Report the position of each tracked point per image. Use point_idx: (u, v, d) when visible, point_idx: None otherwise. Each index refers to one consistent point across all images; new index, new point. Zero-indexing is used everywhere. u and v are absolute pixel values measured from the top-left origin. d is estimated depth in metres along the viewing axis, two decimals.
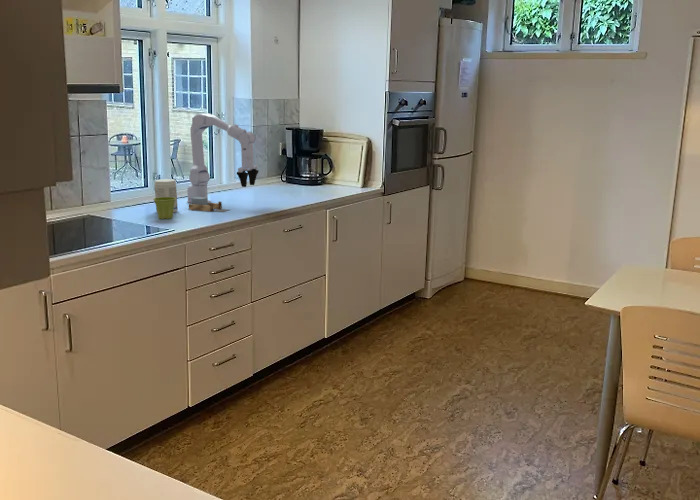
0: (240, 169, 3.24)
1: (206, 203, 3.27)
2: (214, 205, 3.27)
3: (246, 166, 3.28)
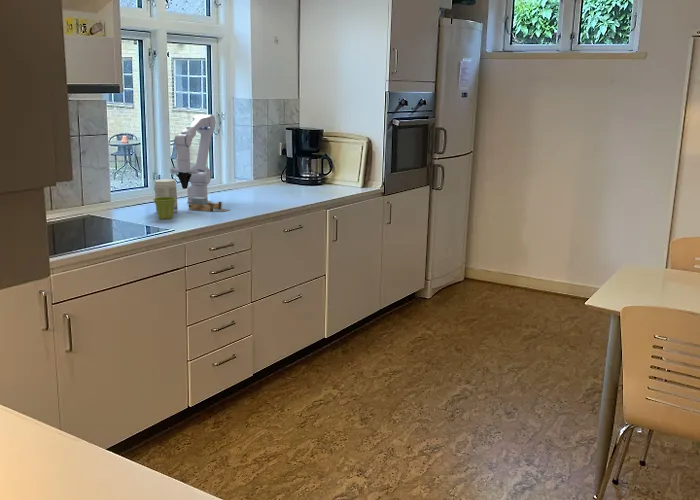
0: None
1: (206, 203, 3.27)
2: (214, 205, 3.27)
3: None
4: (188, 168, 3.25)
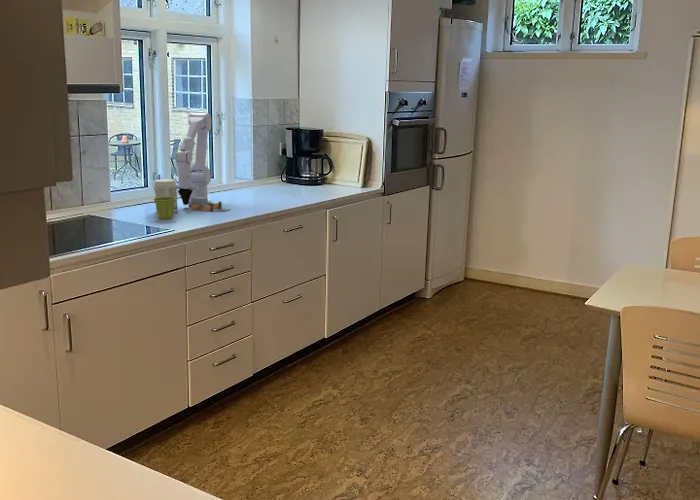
0: None
1: (206, 203, 3.27)
2: (214, 205, 3.27)
3: None
4: (189, 184, 3.26)
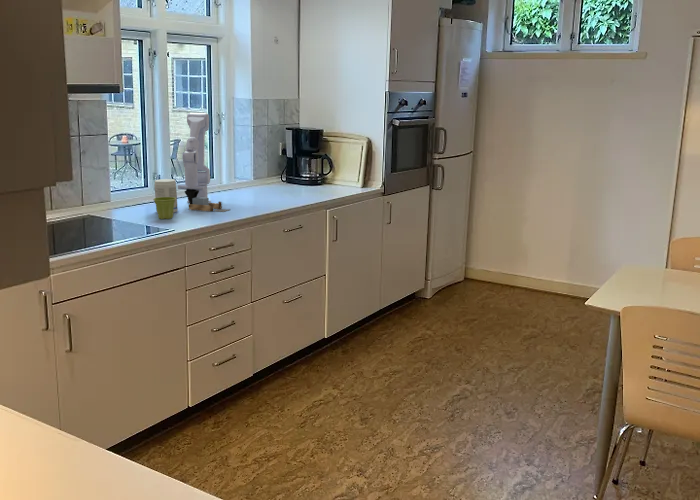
0: None
1: (207, 203, 3.27)
2: (214, 205, 3.27)
3: None
4: (196, 185, 3.25)
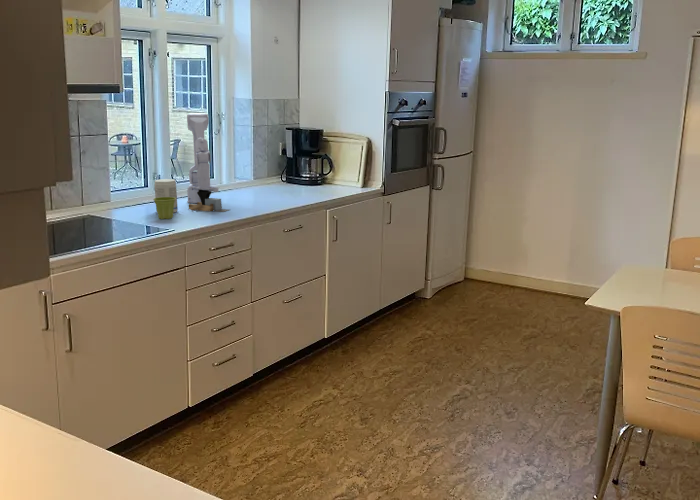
0: None
1: (220, 204, 3.24)
2: None
3: None
4: (208, 186, 3.22)
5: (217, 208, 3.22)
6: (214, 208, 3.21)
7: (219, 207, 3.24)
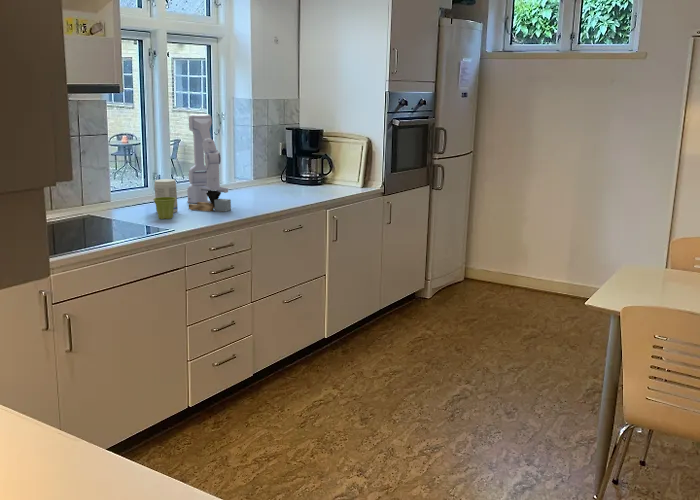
0: None
1: (229, 205, 3.22)
2: None
3: None
4: (218, 186, 3.20)
5: (227, 209, 3.20)
6: (224, 209, 3.20)
7: (228, 208, 3.22)
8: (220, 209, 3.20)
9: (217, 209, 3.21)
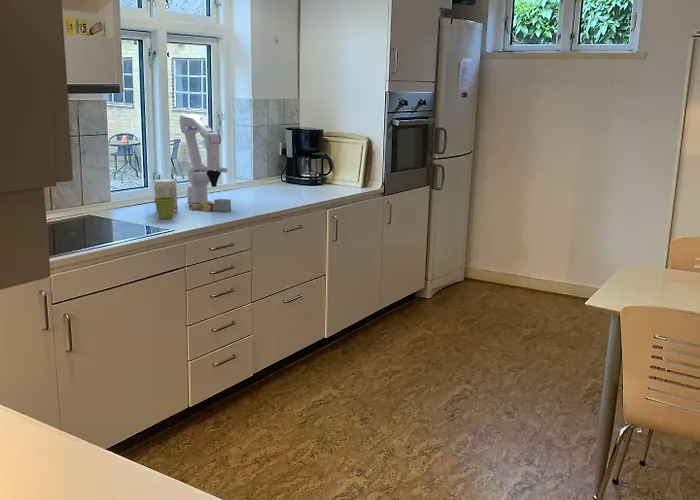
0: None
1: (229, 205, 3.22)
2: (214, 205, 3.27)
3: None
4: (217, 166, 3.27)
5: (227, 209, 3.20)
6: (224, 209, 3.20)
7: (228, 208, 3.22)
8: (220, 209, 3.20)
9: (217, 209, 3.21)
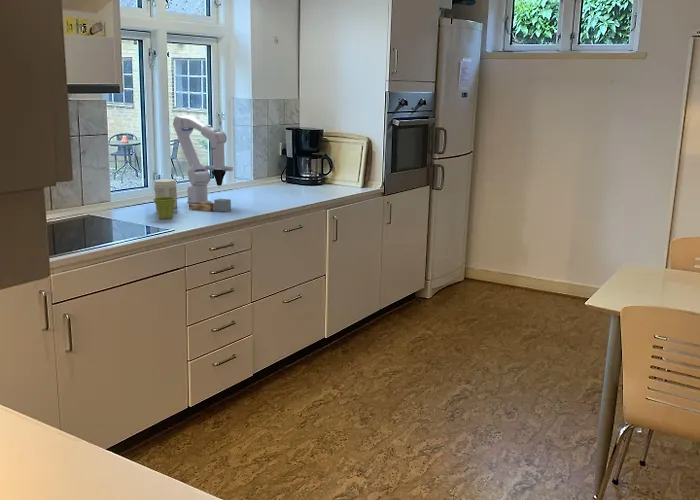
0: None
1: (229, 205, 3.22)
2: (214, 205, 3.27)
3: None
4: (223, 165, 3.31)
5: (227, 209, 3.20)
6: (224, 209, 3.20)
7: (228, 208, 3.22)
8: (220, 209, 3.20)
9: (217, 209, 3.21)
